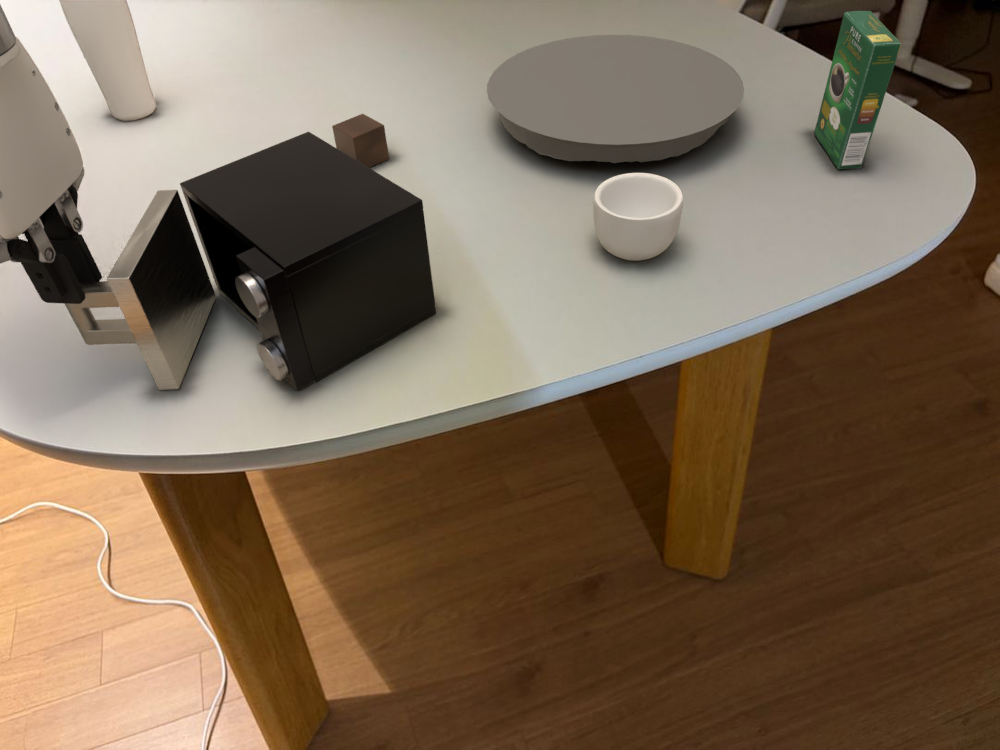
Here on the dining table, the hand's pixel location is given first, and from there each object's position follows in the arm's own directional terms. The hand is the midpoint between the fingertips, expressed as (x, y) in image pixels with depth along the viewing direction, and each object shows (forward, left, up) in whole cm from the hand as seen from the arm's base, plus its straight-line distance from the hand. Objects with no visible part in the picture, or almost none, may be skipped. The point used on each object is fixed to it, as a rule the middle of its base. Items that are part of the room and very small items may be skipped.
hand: (73, 289), depth 59 cm
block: (+34, +13, -8) cm, 37 cm away
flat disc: (+59, 0, -8) cm, 59 cm away
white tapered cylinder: (+21, +44, -8) cm, 49 cm away
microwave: (+16, -5, -8) cm, 18 cm away
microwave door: (+4, 0, -8) cm, 8 cm away
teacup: (+43, -18, -8) cm, 47 cm away
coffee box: (+70, -22, -8) cm, 74 cm away
